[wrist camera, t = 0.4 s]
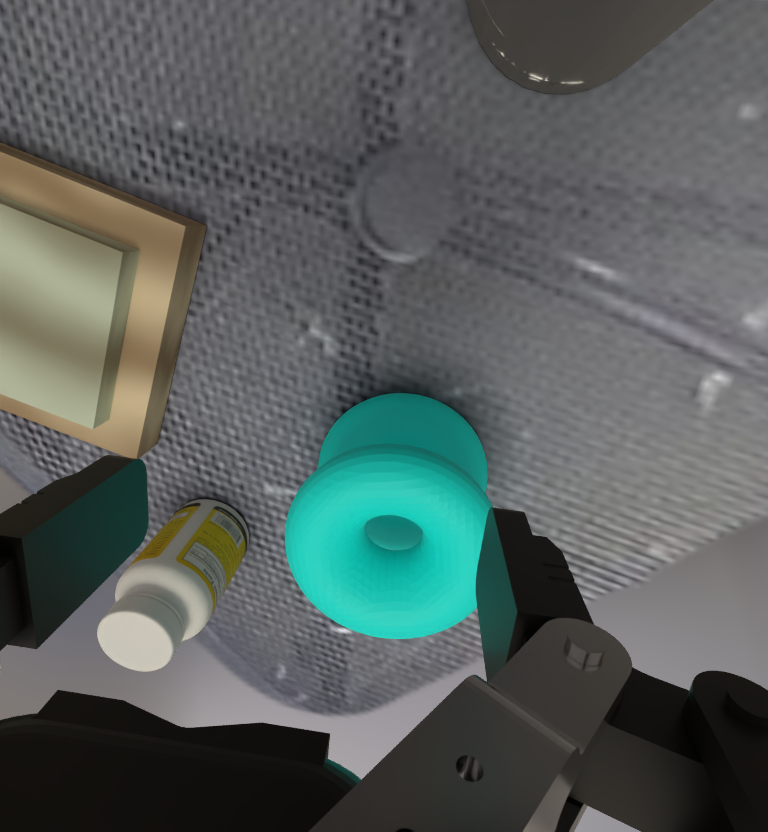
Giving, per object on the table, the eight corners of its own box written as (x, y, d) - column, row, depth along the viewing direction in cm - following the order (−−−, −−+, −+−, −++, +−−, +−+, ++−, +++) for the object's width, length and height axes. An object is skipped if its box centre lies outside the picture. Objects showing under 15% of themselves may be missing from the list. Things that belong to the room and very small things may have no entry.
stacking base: (-44, 124, 27) (-121, 109, 23) (206, 225, 27) (170, 226, 24) (-54, 362, 32) (-118, 381, 28) (157, 443, 33) (121, 472, 29)
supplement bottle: (173, 554, 36) (82, 668, 27) (176, 488, 34) (79, 588, 25) (248, 571, 36) (182, 692, 27) (255, 506, 34) (188, 613, 25)
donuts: (295, 652, 25) (258, 467, 21) (334, 534, 34) (313, 391, 30) (506, 654, 23) (504, 457, 20) (487, 530, 33) (483, 381, 29)
